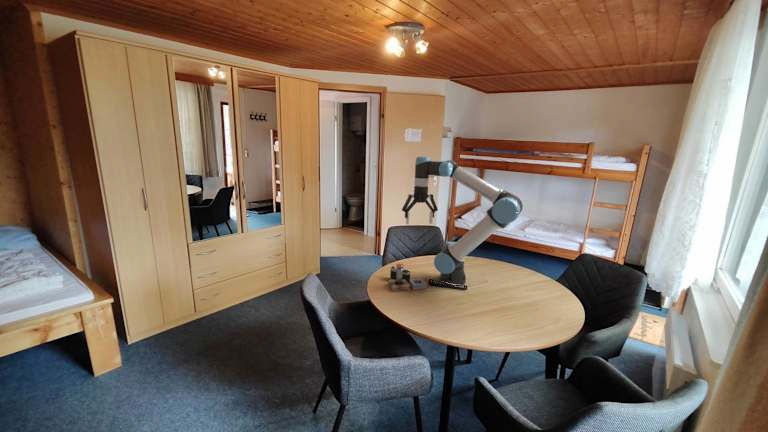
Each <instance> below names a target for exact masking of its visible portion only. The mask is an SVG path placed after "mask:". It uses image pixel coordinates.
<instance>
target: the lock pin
mask: <svg viewBox="0 0 768 432" xmlns="http://www.w3.org/2000/svg"><path fill="white" fill-rule="evenodd" d="M395 266H396V267H395V268H397V277H396V285H402V273H403V268H405V267H404V264H403V263H396V265H395Z"/></svg>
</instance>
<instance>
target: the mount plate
mask: <svg viewBox="0 0 768 432" xmlns="http://www.w3.org/2000/svg"><path fill="white" fill-rule="evenodd" d="M409 285H410V288H411V289H412V290H424V289H426V290H427V289H428V284H427V282H426V281H425V280H424V278H410V279H409Z"/></svg>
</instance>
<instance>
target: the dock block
mask: <svg viewBox="0 0 768 432" xmlns="http://www.w3.org/2000/svg"><path fill="white" fill-rule="evenodd" d="M387 285H388V287H389V288H390V290H391V293H396V292H410V291H411V286H410V284H408V282H407V281H406V279H402V285H396V280H392V279H388V280H387Z"/></svg>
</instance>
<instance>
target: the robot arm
mask: <svg viewBox="0 0 768 432" xmlns="http://www.w3.org/2000/svg"><path fill="white" fill-rule="evenodd" d="M414 166H415V167H414V186H413V187H414V188H413V194H410V193H409V194H408V195H407V199H406V201H405V203H404V205H403V206H402V208H401V211H402V212H403V213H404V219H405V220H406V221H405V223H406V225H410V210H412V208H414V206H415V205H416V204H417V203H418V204H422V203H423V204H424V203H425V204H426V206H427V207H428V208H429V210H430V211H429V219H428V220H429V221H428V222H429V224H433V218H435V213H436V212H437V211H438V210H439V209H438V206H437V204H436V201H435V199H434V195H433V194H432V193H430V194H428V193H429V182H430V181H429V179H430V176H435V177H436V176H437V177H443V178H445V177H449V178H451V179H453V180H454V181H456V182H457V183H459V184H461V185H463V186H464V187H466V188H468V189H469V190H471V191H473V192H474V193H475V194H478V195H479V196H481V197H483V198H484V199H486V200H488V201H490V202H491V204H492V206H491V207H490V208H488V210H486V215H485V216H484V217H483V218H482V219H481V220H480V221H478V222H477V223H476V224H475V225H474V226H473V227H472V228H470V229H469V230H468V231H467V232H466V233H465V234H464V235H463V236H461V237H460V238H459V239H458V240H457V241H446V242H445V243H444V249H442V250H441V251H440V252H439V253H437V254H436V255H435V257H434V260H433V264H434V267H435V269H436V271H438V272H439V273H440V274H439V281H440V280H441V281H444V282H448V283H453V284H462V285H461V286H463V285H465V284H466V283H467V282H466V280H467V278H466V273H465V260H466V256H468V255H469V254H470V253H472V252H473V251H474V250H475V249H476V248H477V247H478V246H479V245H481V244H482V243H483V242H485V240H487V239H488V238H489V237H490V236H492V235H493V234H494V233H495V232H496V231H497V230H499V229H505V228H506V227H507V226H509V225H510V224H511V223H513V222H515V220H517V219H518V217H519V215H520V214H521V212H522V210H523V207H524V206H523V202H522V200H521V199H520V198H519V196H517V195H515V194H513V193H511V192H509V191H507V190H505V189H503V188H502V189H500V188H498V187H496V186H494V185H493V184H490V182H488V181H486V180H484V179H482V178H480V177H478V176H477V175H475V174H473V173H472V172H470V171H469V170H466V169H465V168H463V167H461V166H460V165H459V164H457V163H456V162H455V161H454V160H442V161H434V160H431V157H429V156H417V157H416V159H415V163H414ZM428 198H429V200H430V202H429V201H428ZM411 201H412V202H411ZM441 281H440V282H441Z"/></svg>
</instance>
